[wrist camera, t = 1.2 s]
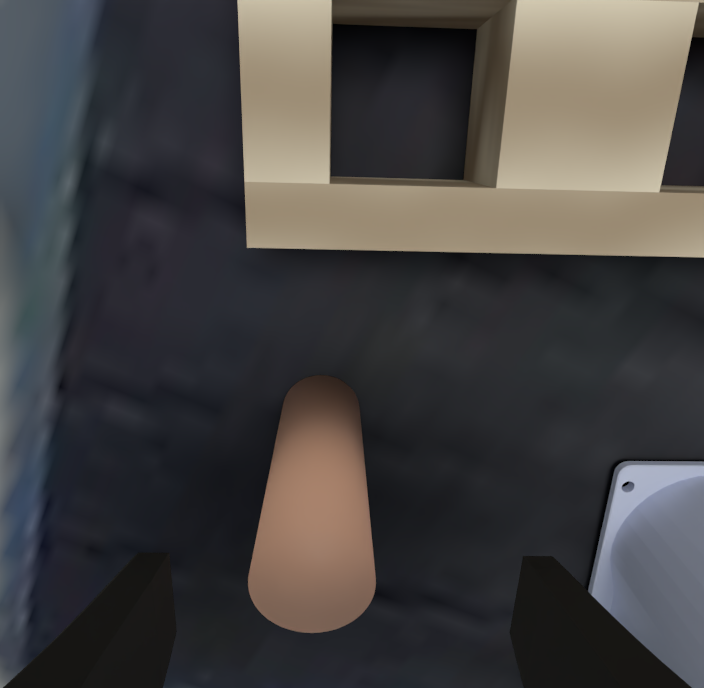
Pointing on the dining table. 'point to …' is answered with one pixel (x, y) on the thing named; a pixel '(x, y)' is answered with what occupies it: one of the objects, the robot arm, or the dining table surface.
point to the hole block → (482, 131)
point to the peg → (315, 514)
